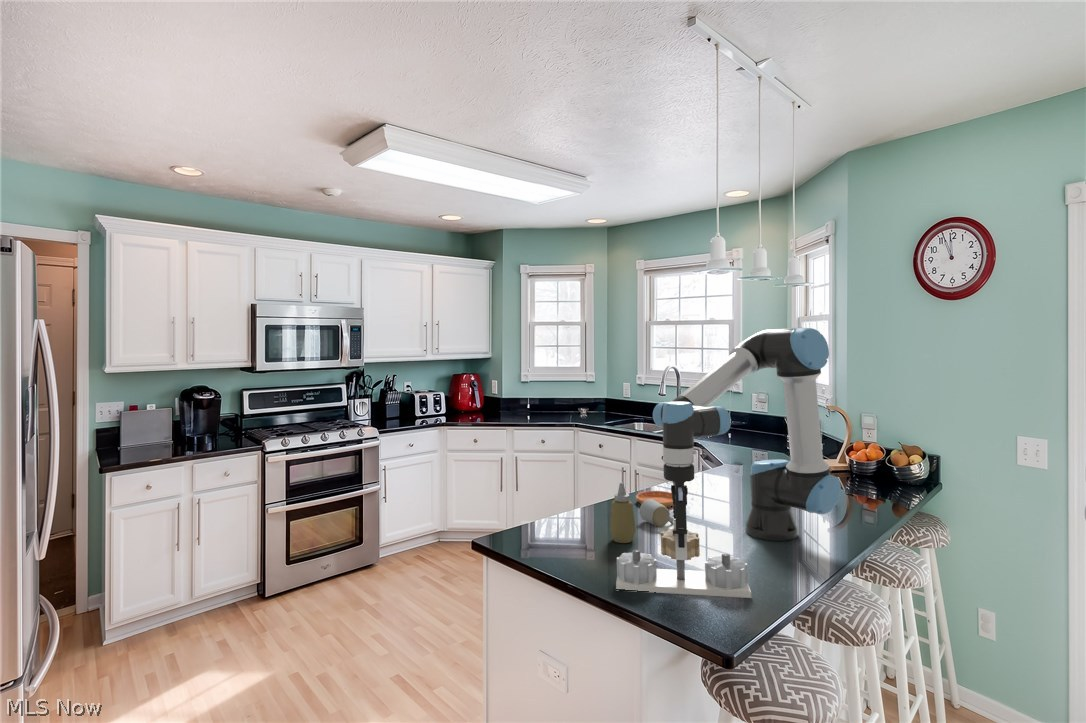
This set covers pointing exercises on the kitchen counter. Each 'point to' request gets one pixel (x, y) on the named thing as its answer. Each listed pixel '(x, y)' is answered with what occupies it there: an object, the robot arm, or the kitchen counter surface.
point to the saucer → (656, 497)
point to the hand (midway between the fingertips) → (680, 551)
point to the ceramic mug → (655, 513)
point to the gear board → (685, 585)
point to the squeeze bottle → (622, 517)
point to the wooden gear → (669, 544)
